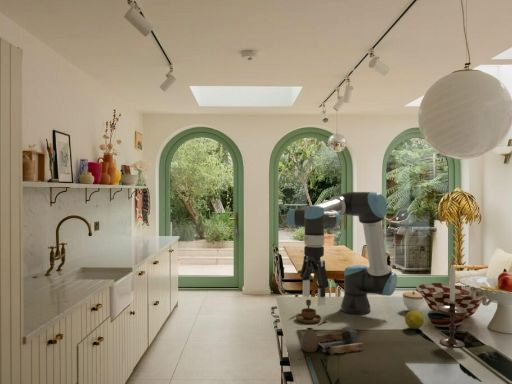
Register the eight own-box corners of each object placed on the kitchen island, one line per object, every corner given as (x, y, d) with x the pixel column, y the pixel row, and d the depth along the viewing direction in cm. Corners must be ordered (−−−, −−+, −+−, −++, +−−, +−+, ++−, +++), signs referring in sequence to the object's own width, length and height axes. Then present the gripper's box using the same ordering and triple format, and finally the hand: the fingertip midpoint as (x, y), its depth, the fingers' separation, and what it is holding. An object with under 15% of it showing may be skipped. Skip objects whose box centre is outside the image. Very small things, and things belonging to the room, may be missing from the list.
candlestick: (441, 337, 179) (442, 255, 178) (469, 344, 172) (470, 257, 171) (433, 345, 170) (434, 258, 170) (462, 351, 163) (463, 261, 163)
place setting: (286, 319, 204) (286, 307, 204) (306, 310, 220) (306, 299, 220) (318, 327, 194) (318, 314, 194) (337, 316, 210) (337, 304, 210)
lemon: (411, 324, 197) (411, 306, 197) (427, 327, 191) (427, 310, 191) (400, 329, 189) (400, 311, 189) (417, 333, 184) (417, 315, 184)
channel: (343, 338, 177) (343, 331, 177) (363, 351, 163) (363, 343, 163) (313, 342, 172) (313, 335, 172) (331, 356, 159) (331, 348, 159)
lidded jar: (426, 308, 223) (426, 290, 223) (422, 313, 214) (422, 294, 214) (405, 305, 228) (405, 287, 228) (400, 310, 219) (400, 292, 219)
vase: (307, 355, 159) (308, 332, 159) (297, 349, 165) (297, 327, 165) (322, 352, 162) (322, 329, 162) (311, 346, 168) (311, 324, 168)
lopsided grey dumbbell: (346, 340, 175) (346, 325, 174) (359, 348, 166) (359, 332, 166) (311, 344, 169) (311, 329, 169) (322, 353, 160) (322, 337, 160)
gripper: (292, 242, 174) (292, 293, 175) (319, 250, 151) (319, 310, 151) (309, 241, 177) (308, 292, 177) (338, 249, 153) (338, 308, 153)
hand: (313, 300), depth 164 cm, fingers open, 13 cm apart
